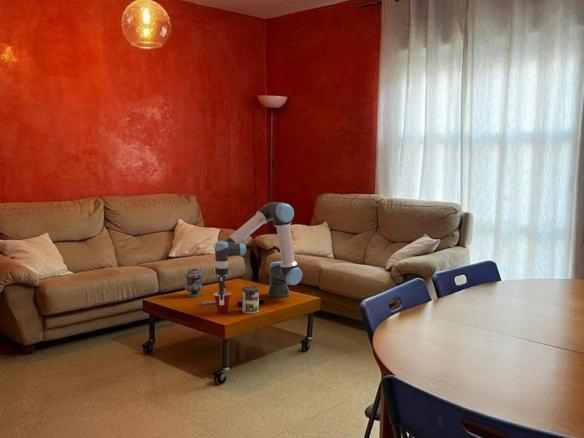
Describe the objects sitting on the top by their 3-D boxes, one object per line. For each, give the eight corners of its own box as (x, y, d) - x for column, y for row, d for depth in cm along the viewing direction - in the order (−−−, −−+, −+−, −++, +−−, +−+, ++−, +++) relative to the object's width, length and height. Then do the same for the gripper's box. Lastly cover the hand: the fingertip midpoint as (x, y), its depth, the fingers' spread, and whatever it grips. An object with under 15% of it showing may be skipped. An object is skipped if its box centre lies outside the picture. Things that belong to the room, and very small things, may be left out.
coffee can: (262, 310, 337) (262, 288, 335) (251, 314, 329) (251, 291, 327) (249, 307, 343) (249, 285, 341) (238, 311, 335) (238, 288, 333)
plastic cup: (224, 308, 341) (224, 289, 340) (235, 312, 333) (234, 293, 332) (210, 311, 334) (209, 292, 333) (219, 315, 326) (219, 296, 324)
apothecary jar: (204, 293, 379) (203, 267, 377) (202, 297, 367) (201, 271, 365) (186, 293, 378) (186, 267, 376) (183, 298, 366) (183, 271, 364)
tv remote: (221, 302, 357) (221, 299, 356) (223, 304, 353) (223, 301, 352) (199, 305, 351) (198, 302, 350) (200, 306, 347) (200, 303, 346)
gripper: (216, 263, 342) (217, 296, 345) (214, 271, 318) (214, 307, 320) (228, 263, 343) (229, 296, 345) (227, 271, 318) (227, 307, 321)
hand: (222, 301), depth 333 cm, fingers open, 13 cm apart
